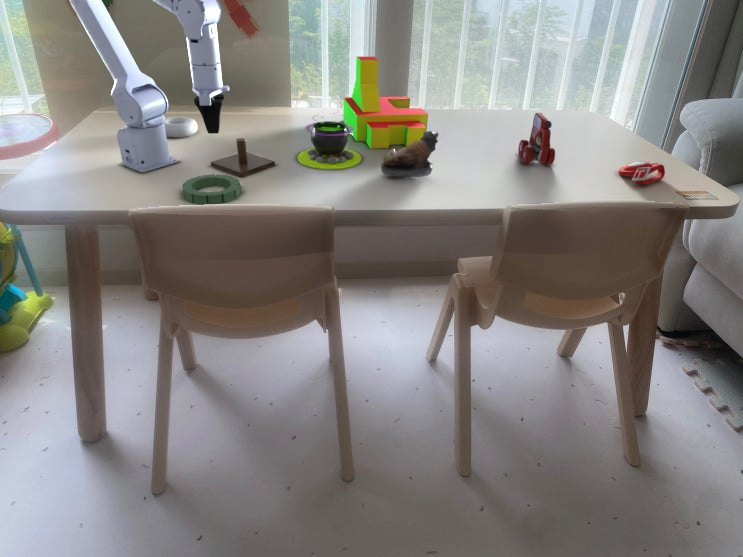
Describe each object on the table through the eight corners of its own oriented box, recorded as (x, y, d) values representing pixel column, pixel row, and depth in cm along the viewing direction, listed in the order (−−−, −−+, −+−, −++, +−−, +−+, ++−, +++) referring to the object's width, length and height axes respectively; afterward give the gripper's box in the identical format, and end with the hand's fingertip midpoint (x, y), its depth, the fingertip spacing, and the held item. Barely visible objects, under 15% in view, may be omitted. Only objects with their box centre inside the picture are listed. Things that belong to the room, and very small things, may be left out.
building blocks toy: (361, 148, 132) (363, 71, 123) (343, 120, 153) (344, 53, 143) (432, 146, 136) (440, 71, 127) (405, 119, 157) (410, 53, 147)
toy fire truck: (525, 168, 125) (534, 124, 119) (515, 151, 135) (523, 110, 130) (555, 170, 125) (565, 125, 119) (543, 152, 135) (552, 111, 130)
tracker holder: (609, 165, 126) (651, 155, 125) (611, 183, 127) (652, 173, 127) (636, 171, 114) (682, 161, 114) (637, 191, 116) (682, 181, 115)
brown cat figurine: (380, 180, 115) (382, 134, 110) (380, 168, 121) (382, 124, 116) (435, 182, 115) (440, 136, 110) (432, 171, 121) (437, 127, 116)
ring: (250, 197, 105) (249, 188, 104) (194, 209, 99) (193, 200, 98) (228, 178, 112) (227, 170, 111) (175, 188, 107) (173, 180, 106)
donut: (189, 141, 133) (204, 129, 141) (187, 127, 131) (202, 116, 139) (151, 138, 133) (168, 126, 142) (148, 124, 132) (165, 113, 140)
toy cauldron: (372, 156, 128) (374, 109, 122) (338, 174, 117) (338, 124, 111) (321, 144, 134) (321, 99, 128) (284, 160, 123) (282, 112, 117)
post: (241, 177, 113) (238, 150, 110) (210, 166, 118) (207, 139, 115) (275, 165, 120) (273, 139, 117) (244, 155, 125) (242, 130, 122)
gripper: (223, 70, 97) (231, 143, 105) (229, 56, 110) (235, 122, 117) (183, 70, 96) (193, 143, 103) (193, 56, 108) (202, 122, 116)
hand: (213, 132), depth 110 cm, fingers closed
